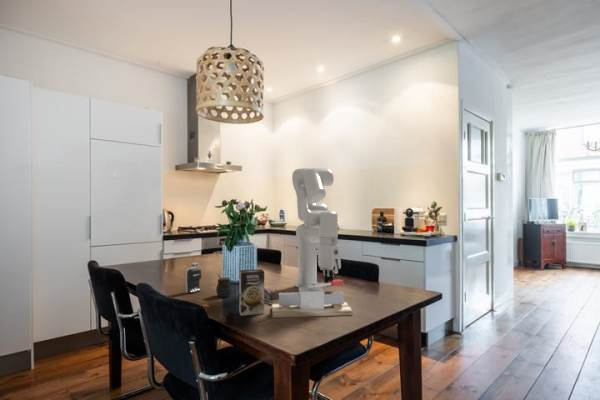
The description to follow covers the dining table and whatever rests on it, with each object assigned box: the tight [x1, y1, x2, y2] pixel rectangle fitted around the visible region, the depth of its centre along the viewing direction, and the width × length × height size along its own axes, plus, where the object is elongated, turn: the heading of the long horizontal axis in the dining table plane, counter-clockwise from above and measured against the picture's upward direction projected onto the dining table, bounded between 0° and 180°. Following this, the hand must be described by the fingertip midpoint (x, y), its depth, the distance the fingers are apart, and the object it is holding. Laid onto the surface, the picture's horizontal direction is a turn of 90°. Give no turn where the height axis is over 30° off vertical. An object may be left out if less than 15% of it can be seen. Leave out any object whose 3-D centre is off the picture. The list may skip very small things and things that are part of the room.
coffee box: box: [238, 268, 265, 316], centre depth 135 cm, size 9×6×16 cm
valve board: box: [271, 301, 354, 319], centre depth 136 cm, size 12×30×3 cm, turn 95°
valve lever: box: [308, 279, 344, 289], centre depth 139 cm, size 16×3×2 cm, turn 119°
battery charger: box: [185, 267, 202, 294], centre depth 166 cm, size 7×4×11 cm, turn 145°
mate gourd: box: [215, 273, 233, 298], centre depth 160 cm, size 7×8×10 cm
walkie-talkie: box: [264, 287, 277, 304], centre depth 155 cm, size 9×4×20 cm
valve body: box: [278, 286, 345, 311], centre depth 136 cm, size 7×25×7 cm, turn 95°
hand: (328, 285), depth 144 cm, fingers closed
